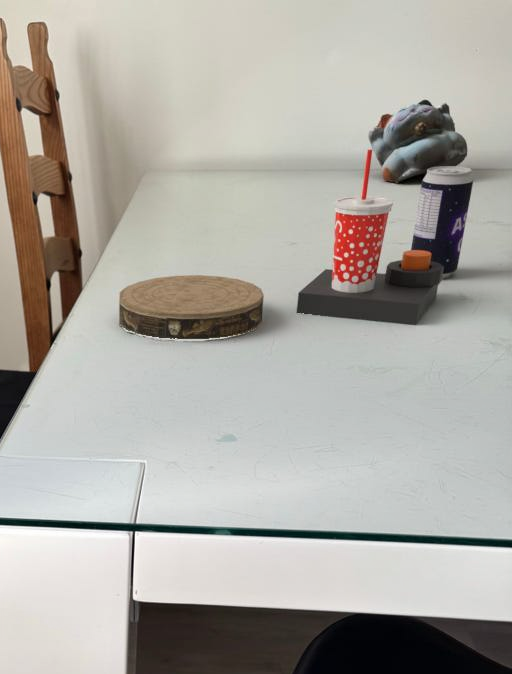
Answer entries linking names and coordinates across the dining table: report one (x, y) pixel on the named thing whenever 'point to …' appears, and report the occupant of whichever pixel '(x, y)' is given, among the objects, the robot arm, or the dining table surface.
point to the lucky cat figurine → (416, 141)
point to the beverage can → (443, 215)
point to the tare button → (416, 260)
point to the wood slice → (191, 307)
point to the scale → (375, 296)
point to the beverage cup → (358, 238)
